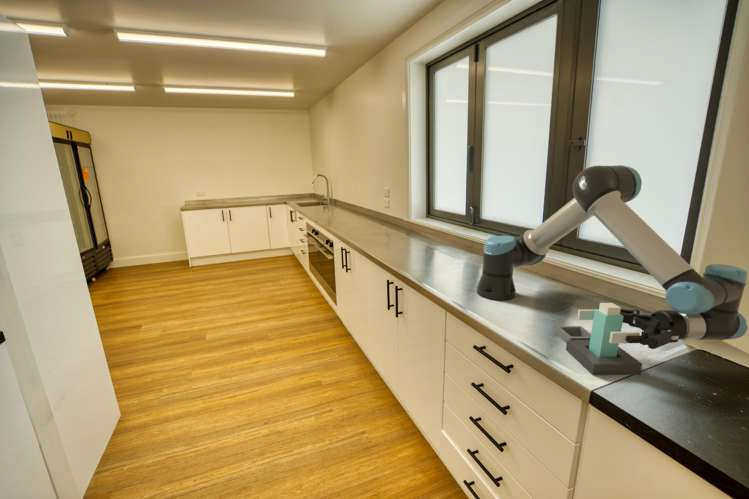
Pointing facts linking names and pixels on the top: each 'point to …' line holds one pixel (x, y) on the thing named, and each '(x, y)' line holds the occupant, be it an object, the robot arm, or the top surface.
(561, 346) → the top surface
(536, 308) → the top surface
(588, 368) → the port block
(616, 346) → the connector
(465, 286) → the top surface
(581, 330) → the grey square plate
